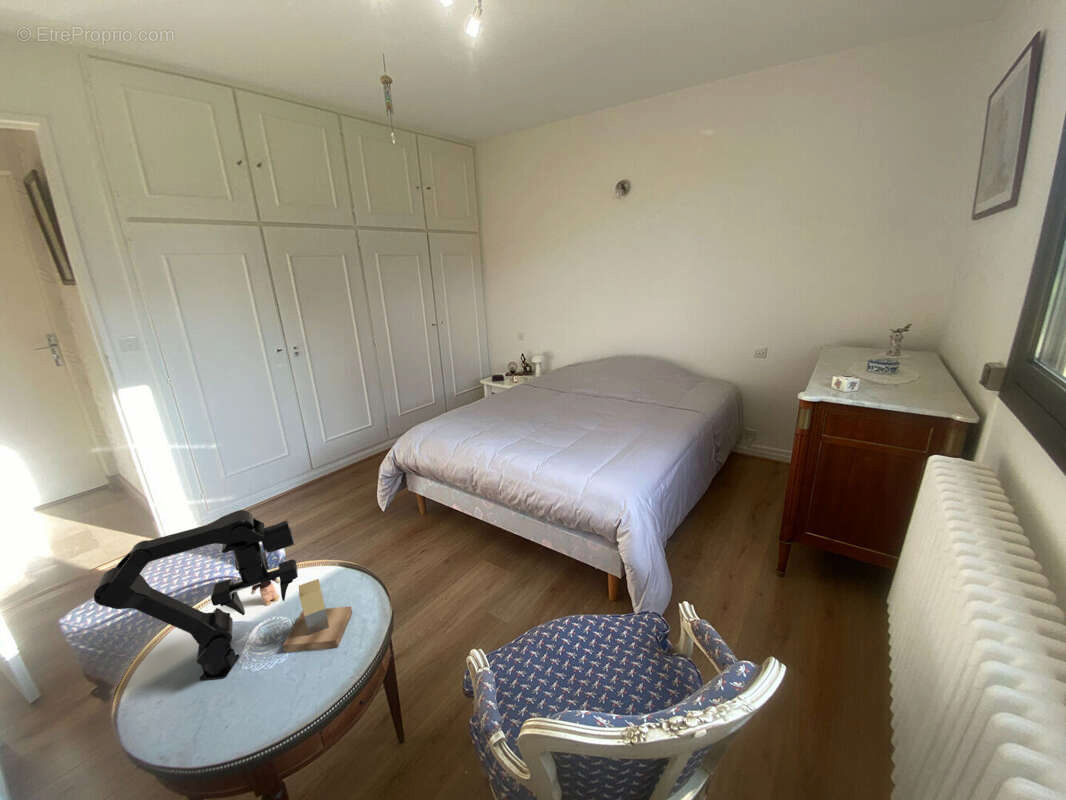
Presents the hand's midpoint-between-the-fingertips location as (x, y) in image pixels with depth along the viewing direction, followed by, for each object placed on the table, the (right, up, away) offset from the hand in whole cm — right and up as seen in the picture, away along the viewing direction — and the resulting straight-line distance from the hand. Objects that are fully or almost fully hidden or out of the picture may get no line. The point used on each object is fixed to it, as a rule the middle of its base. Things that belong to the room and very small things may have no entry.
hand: (264, 606), depth 114 cm
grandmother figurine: (-11, -8, +20) cm, 24 cm away
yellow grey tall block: (+11, -8, +7) cm, 15 cm away
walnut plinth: (+11, -11, +7) cm, 17 cm away
